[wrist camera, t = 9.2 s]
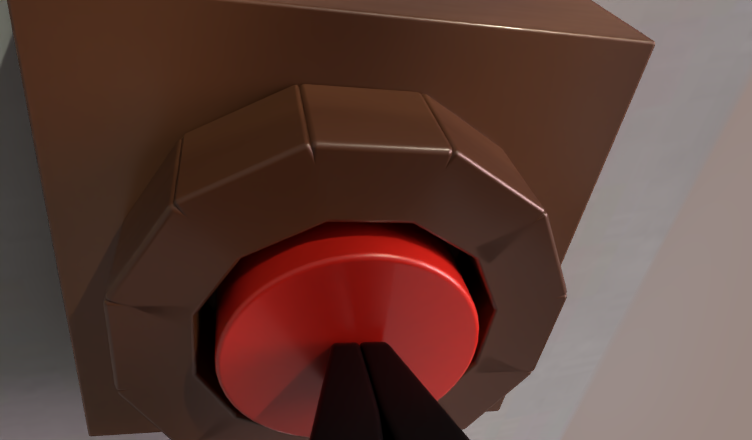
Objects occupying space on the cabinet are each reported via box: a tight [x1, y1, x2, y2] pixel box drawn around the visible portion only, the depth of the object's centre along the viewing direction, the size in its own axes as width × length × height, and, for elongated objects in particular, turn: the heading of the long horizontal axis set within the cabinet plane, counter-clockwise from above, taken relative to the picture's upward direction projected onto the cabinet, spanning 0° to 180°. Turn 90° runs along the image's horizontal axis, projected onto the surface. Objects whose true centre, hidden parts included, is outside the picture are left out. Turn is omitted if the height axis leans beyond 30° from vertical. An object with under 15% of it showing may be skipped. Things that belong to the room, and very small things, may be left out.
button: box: [214, 222, 479, 437], centre depth 10 cm, size 4×4×2 cm
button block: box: [7, 0, 655, 440], centre depth 11 cm, size 9×9×4 cm
